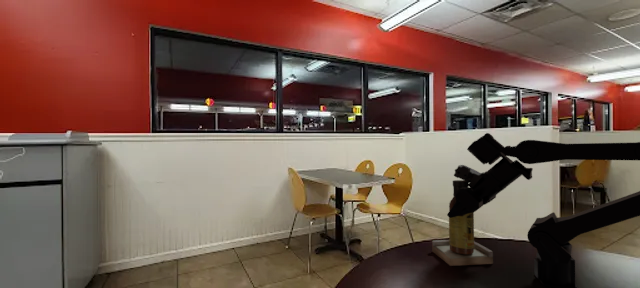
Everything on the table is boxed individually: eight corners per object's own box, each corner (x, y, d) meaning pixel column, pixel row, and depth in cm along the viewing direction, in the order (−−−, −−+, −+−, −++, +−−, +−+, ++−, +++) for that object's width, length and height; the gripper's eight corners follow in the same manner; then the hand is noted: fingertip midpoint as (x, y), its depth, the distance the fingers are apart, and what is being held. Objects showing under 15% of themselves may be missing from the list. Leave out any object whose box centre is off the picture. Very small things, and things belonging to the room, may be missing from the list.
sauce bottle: (473, 257, 74) (472, 183, 74) (447, 253, 77) (446, 181, 77) (475, 249, 80) (474, 180, 80) (451, 245, 83) (450, 179, 83)
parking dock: (470, 249, 85) (470, 238, 85) (492, 263, 75) (492, 251, 75) (432, 251, 84) (432, 240, 84) (450, 265, 74) (450, 253, 74)
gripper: (482, 154, 83) (445, 187, 91) (462, 157, 70) (420, 195, 77) (515, 182, 78) (472, 215, 85) (500, 191, 64) (450, 230, 72)
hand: (454, 213), depth 80 cm, fingers open, 9 cm apart
